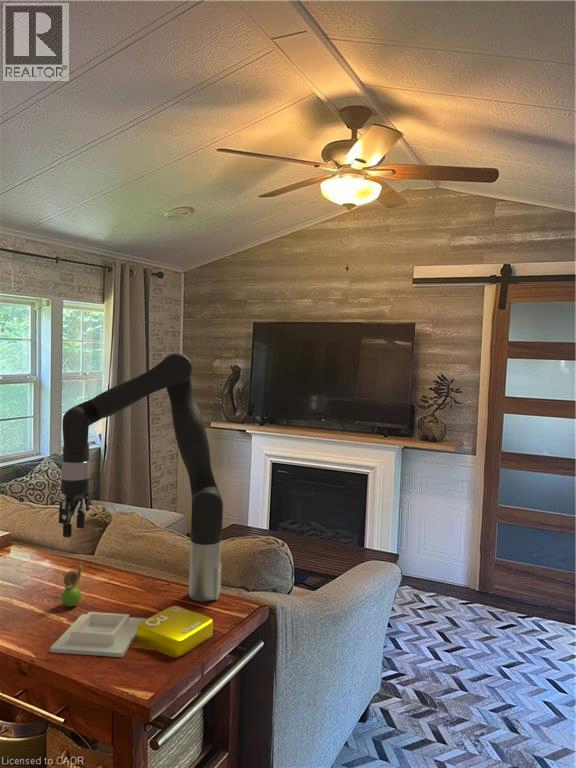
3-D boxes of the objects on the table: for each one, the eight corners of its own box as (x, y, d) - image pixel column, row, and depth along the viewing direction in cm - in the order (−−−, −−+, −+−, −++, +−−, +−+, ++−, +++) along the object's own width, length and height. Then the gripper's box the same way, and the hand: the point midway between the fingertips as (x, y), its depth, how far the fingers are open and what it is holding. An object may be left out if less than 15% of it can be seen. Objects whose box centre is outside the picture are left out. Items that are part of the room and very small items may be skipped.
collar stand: (146, 621, 150) (146, 609, 149) (122, 657, 132) (122, 643, 131) (82, 617, 151) (82, 605, 150) (49, 652, 133) (50, 638, 133)
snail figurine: (87, 602, 160) (88, 562, 159) (70, 611, 154) (71, 569, 153) (74, 598, 162) (74, 559, 162) (56, 607, 156) (57, 566, 156)
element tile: (176, 660, 132) (177, 640, 132) (132, 641, 140) (133, 623, 139) (215, 634, 145) (216, 617, 144) (173, 619, 152) (174, 602, 152)
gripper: (77, 482, 149) (75, 541, 150) (98, 472, 163) (97, 525, 164) (50, 481, 150) (49, 539, 150) (74, 470, 164) (72, 524, 164)
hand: (74, 532), depth 157 cm, fingers open, 8 cm apart
